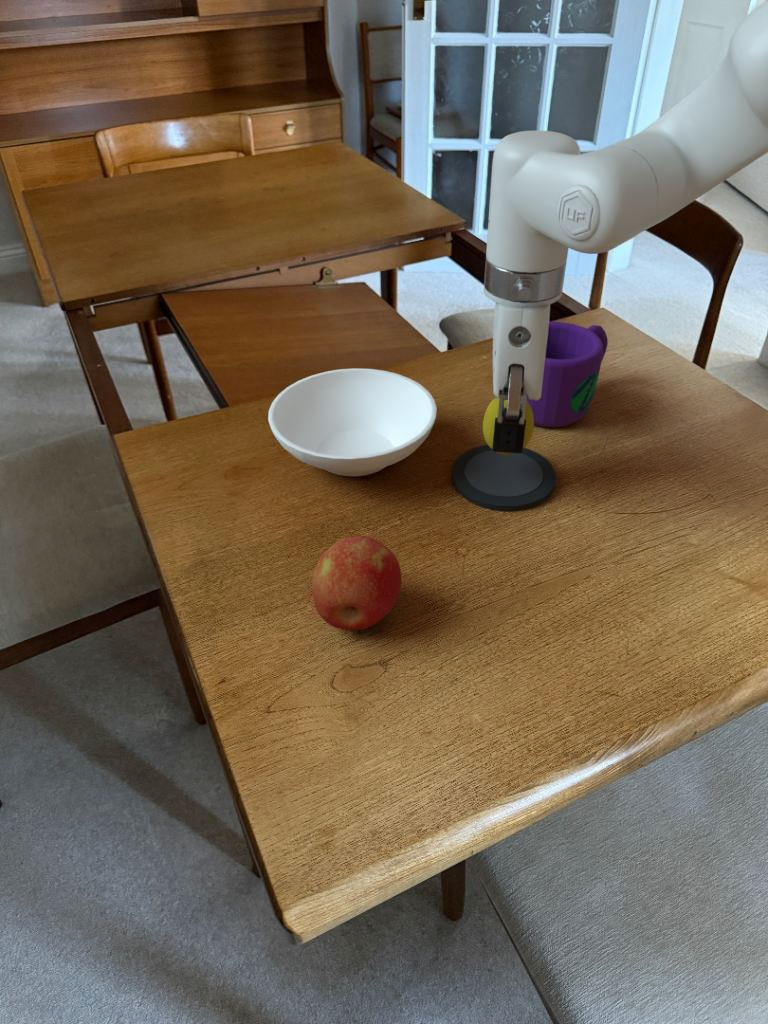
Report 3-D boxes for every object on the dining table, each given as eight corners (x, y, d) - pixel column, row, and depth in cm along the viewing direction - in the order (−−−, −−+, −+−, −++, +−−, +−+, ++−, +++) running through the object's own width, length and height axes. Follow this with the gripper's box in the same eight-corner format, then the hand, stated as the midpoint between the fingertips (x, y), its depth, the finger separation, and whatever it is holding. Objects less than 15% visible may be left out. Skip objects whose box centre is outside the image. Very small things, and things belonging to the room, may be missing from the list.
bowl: (464, 442, 92) (467, 394, 88) (377, 530, 80) (375, 479, 75) (337, 399, 101) (334, 354, 96) (241, 472, 88) (232, 424, 84)
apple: (411, 594, 72) (411, 532, 67) (380, 658, 66) (378, 596, 61) (336, 574, 75) (331, 514, 70) (300, 634, 69) (291, 573, 64)
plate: (562, 458, 89) (563, 452, 89) (546, 520, 80) (547, 513, 80) (464, 442, 92) (465, 436, 92) (439, 500, 84) (440, 493, 83)
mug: (555, 444, 91) (566, 372, 85) (485, 409, 98) (491, 340, 91) (634, 393, 100) (649, 324, 94) (565, 364, 107) (575, 298, 100)
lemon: (491, 472, 82) (497, 410, 76) (473, 445, 86) (477, 384, 81) (537, 464, 83) (546, 402, 78) (517, 437, 87) (524, 377, 82)
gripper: (567, 318, 64) (543, 484, 75) (560, 245, 77) (540, 396, 88) (480, 314, 65) (469, 478, 76) (488, 243, 78) (477, 393, 89)
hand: (507, 433), depth 82 cm, fingers closed on lemon, 5 cm apart
